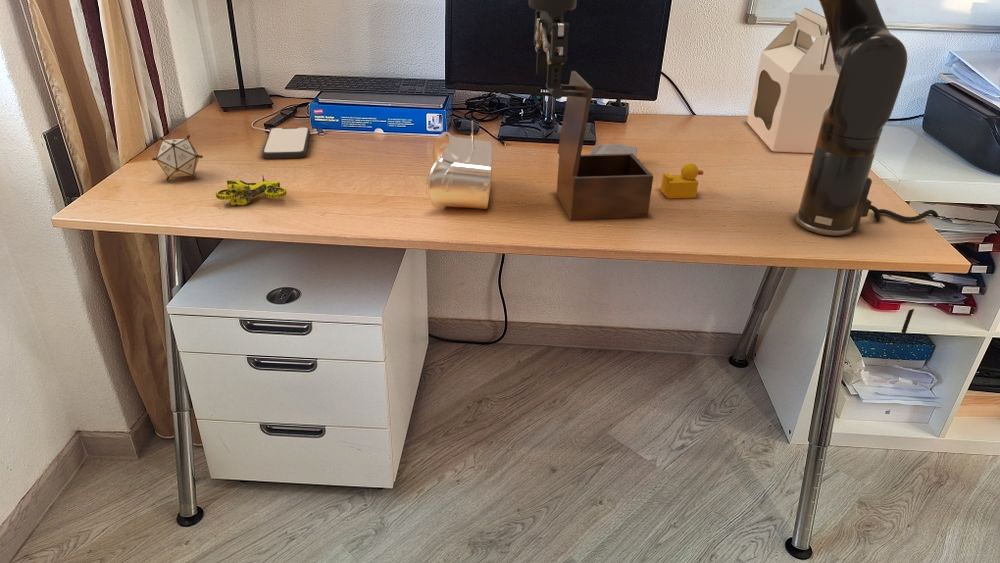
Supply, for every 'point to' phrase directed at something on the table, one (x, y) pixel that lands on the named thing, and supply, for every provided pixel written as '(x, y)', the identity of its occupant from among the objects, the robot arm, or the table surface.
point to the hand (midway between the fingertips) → (547, 81)
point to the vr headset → (460, 172)
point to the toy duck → (681, 182)
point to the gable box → (794, 85)
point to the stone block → (613, 149)
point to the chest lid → (573, 119)
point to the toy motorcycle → (250, 191)
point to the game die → (177, 157)
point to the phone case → (286, 143)
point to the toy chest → (605, 187)
